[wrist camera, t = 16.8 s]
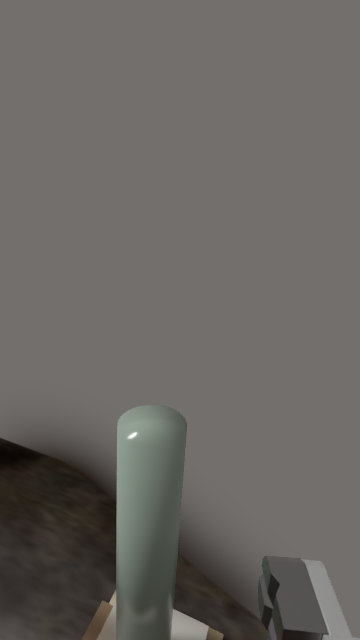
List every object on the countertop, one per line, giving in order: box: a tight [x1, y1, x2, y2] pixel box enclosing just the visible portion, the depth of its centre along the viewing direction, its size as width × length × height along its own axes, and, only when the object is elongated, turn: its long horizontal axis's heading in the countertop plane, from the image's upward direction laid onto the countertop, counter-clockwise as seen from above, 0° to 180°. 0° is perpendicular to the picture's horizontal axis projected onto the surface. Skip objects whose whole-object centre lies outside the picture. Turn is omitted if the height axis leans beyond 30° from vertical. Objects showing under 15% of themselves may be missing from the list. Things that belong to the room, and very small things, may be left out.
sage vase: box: [116, 405, 187, 640], centre depth 25 cm, size 6×6×26 cm
